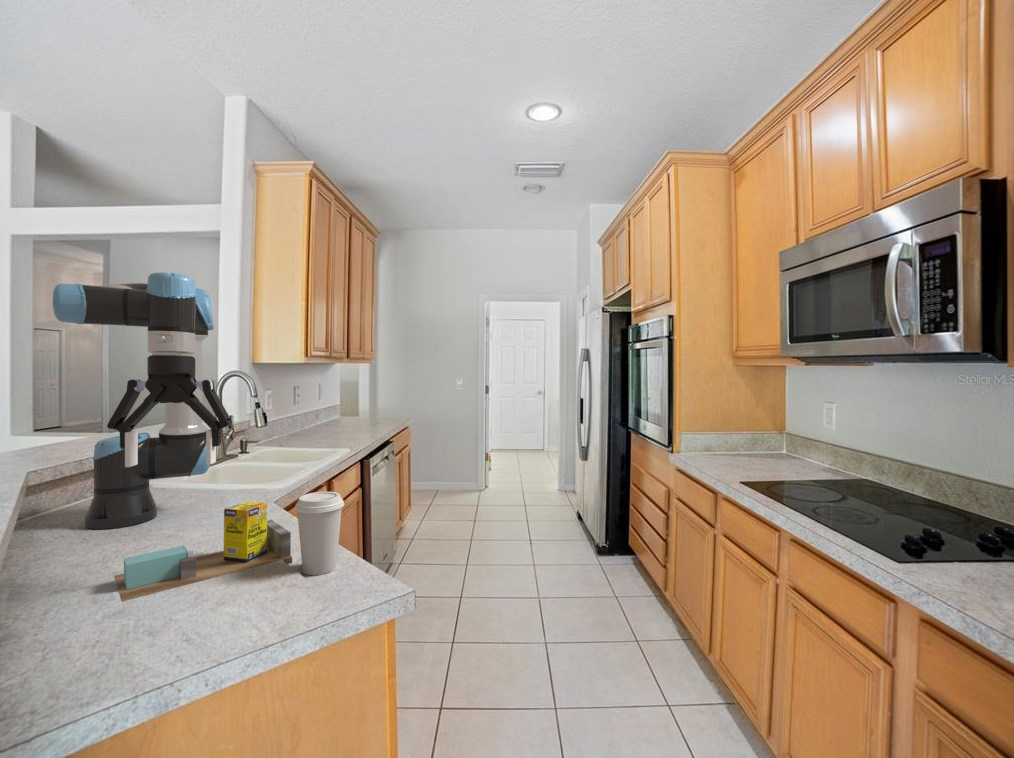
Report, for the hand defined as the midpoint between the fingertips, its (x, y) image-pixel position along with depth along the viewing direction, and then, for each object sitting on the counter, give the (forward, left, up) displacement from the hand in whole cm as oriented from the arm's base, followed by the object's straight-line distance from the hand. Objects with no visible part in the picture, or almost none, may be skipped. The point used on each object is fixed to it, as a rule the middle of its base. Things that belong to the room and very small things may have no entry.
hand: (172, 464), depth 89 cm
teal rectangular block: (0, -2, -21) cm, 21 cm away
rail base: (0, +6, -23) cm, 23 cm away
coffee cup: (+14, +23, -23) cm, 35 cm away
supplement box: (0, +13, -22) cm, 25 cm away
